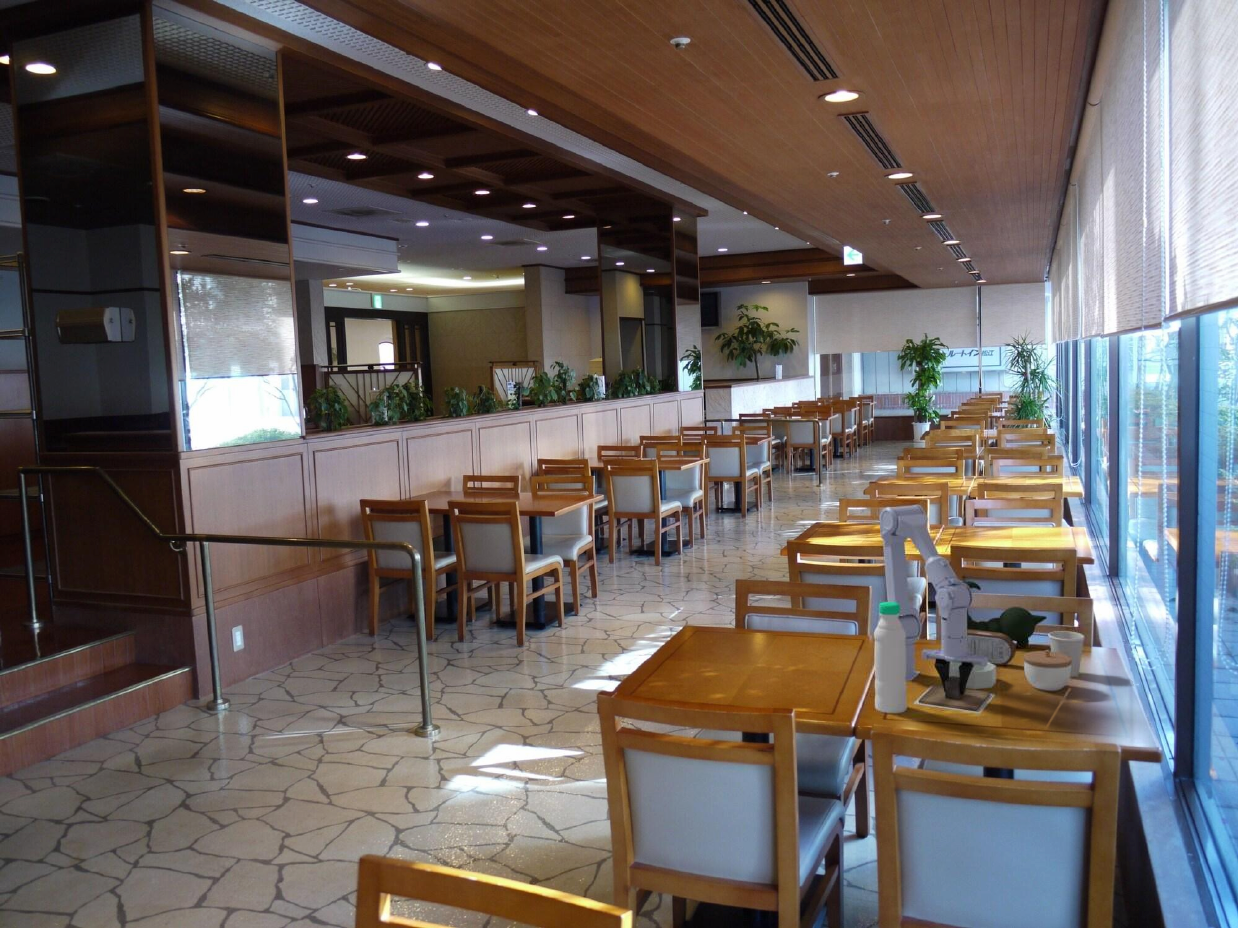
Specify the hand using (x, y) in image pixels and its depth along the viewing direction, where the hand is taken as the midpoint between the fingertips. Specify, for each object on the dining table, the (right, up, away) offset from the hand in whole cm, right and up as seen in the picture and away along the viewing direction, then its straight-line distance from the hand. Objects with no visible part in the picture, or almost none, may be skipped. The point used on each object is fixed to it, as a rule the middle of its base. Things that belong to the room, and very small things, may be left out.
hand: (954, 692), depth 232 cm
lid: (0, -2, 0) cm, 2 cm away
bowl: (+8, -1, +13) cm, 15 cm away
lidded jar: (+25, -1, +7) cm, 26 cm away
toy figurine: (+27, +3, +45) cm, 53 cm away
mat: (0, -2, 0) cm, 2 cm away
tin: (+18, +1, +29) cm, 34 cm away
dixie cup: (+34, 0, +17) cm, 38 cm away
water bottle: (-16, -3, -5) cm, 17 cm away
